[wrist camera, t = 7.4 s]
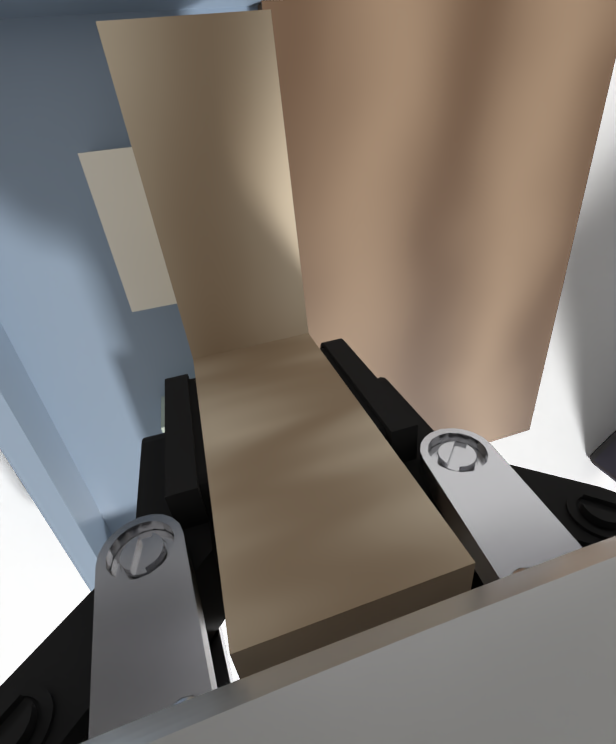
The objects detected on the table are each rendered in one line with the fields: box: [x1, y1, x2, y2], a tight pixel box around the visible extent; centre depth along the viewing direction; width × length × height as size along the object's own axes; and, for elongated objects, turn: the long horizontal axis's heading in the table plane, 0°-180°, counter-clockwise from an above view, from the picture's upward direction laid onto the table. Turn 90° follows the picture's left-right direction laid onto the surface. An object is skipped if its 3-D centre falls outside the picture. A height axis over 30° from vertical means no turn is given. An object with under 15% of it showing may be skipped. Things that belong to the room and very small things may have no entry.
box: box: [0, 0, 262, 591], centre depth 14 cm, size 10×20×4 cm, turn 5°
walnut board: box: [258, 0, 616, 442], centre depth 17 cm, size 12×18×2 cm, turn 5°
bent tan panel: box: [96, 9, 476, 679], centre depth 9 cm, size 3×16×10 cm, turn 5°
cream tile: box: [78, 146, 177, 312], centre depth 12 cm, size 4×4×2 cm
